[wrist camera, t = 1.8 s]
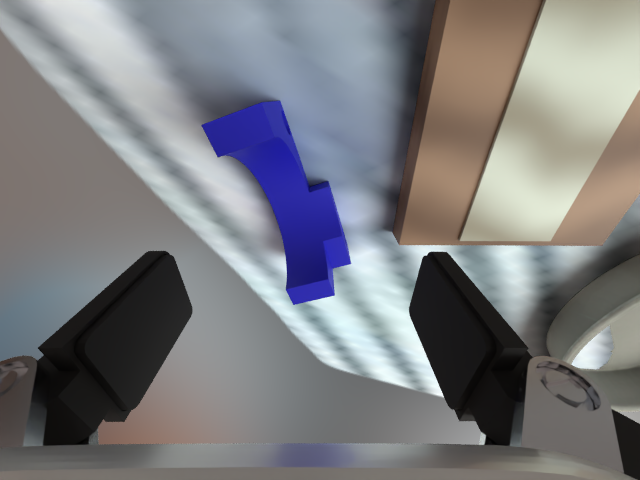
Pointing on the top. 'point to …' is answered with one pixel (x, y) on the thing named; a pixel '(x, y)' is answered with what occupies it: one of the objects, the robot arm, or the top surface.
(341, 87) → the top surface
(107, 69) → the top surface
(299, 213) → the blue curved stepped block
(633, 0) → the mounting board
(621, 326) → the cake pan
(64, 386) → the robot arm
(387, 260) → the top surface
